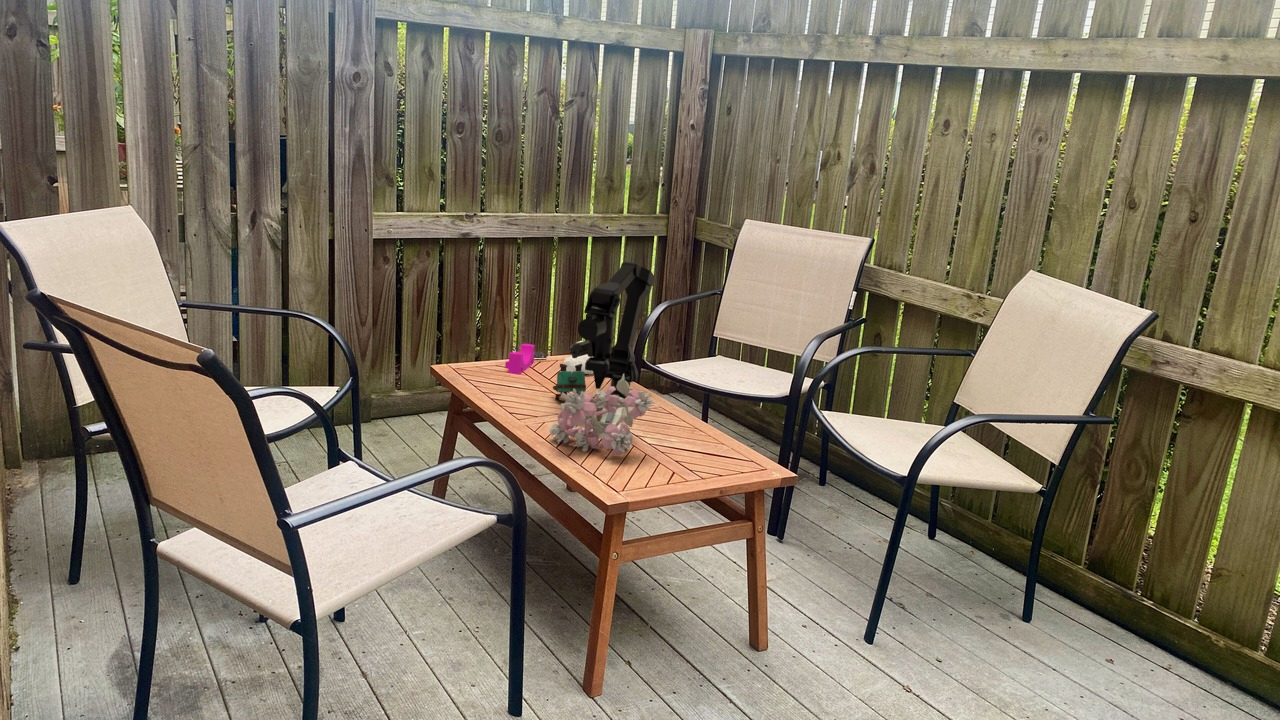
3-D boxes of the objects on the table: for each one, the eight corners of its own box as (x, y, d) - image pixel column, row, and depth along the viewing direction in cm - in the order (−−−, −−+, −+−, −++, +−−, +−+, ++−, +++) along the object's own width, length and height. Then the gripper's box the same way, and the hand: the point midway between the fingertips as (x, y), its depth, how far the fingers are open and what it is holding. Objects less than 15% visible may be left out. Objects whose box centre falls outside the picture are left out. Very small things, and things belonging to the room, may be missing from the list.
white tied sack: (567, 380, 303) (569, 344, 301) (559, 373, 310) (561, 339, 307) (602, 378, 308) (605, 344, 305) (594, 372, 315) (596, 338, 312)
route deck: (569, 407, 275) (570, 390, 274) (625, 412, 275) (627, 395, 273) (555, 434, 251) (556, 415, 250) (617, 440, 250) (618, 422, 249)
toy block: (514, 365, 316) (516, 342, 315) (533, 367, 315) (534, 344, 314) (500, 375, 302) (501, 352, 300) (519, 378, 301) (521, 354, 299)
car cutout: (532, 368, 316) (532, 354, 315) (524, 363, 321) (524, 349, 320) (573, 365, 323) (574, 352, 322) (565, 360, 329) (566, 347, 328)
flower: (671, 455, 248) (597, 491, 232) (613, 409, 260) (539, 440, 245) (685, 391, 237) (607, 424, 221) (624, 346, 249) (547, 375, 234)
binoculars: (579, 366, 286) (588, 362, 276) (579, 402, 285) (588, 400, 275) (549, 366, 283) (557, 362, 274) (549, 402, 282) (558, 400, 273)
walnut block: (583, 414, 263) (584, 400, 262) (602, 416, 263) (603, 402, 262) (581, 419, 258) (582, 405, 257) (599, 421, 258) (601, 407, 257)
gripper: (577, 324, 276) (573, 377, 280) (568, 338, 258) (564, 394, 262) (616, 327, 275) (612, 380, 279) (609, 342, 257) (605, 398, 261)
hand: (597, 388), depth 270 cm, fingers closed
